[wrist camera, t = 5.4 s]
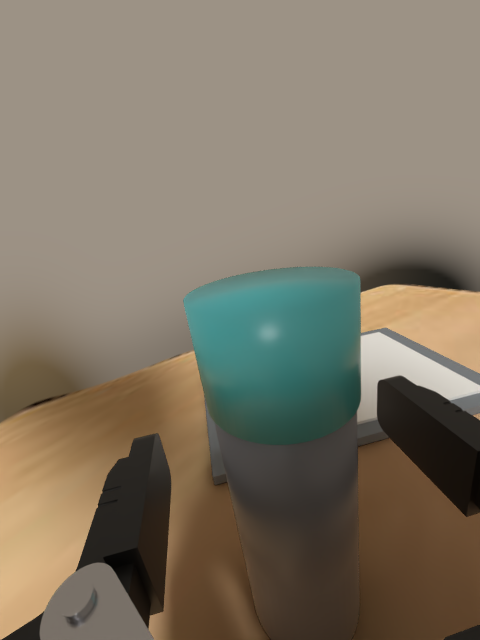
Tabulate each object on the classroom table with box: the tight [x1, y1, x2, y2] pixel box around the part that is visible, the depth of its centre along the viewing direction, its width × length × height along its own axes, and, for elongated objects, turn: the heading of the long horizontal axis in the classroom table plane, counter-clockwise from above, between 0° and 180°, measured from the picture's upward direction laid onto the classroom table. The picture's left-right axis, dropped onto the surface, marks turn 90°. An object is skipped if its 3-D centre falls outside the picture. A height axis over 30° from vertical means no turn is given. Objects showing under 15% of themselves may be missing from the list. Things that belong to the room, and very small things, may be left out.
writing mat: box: [204, 328, 480, 485], centre depth 23 cm, size 20×13×1 cm, turn 100°
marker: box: [183, 267, 361, 640], centre depth 9 cm, size 4×4×12 cm
